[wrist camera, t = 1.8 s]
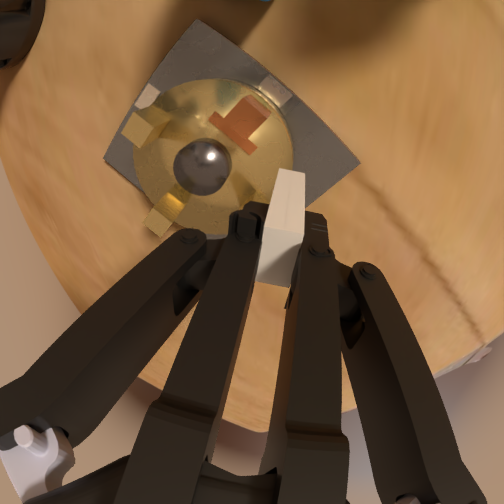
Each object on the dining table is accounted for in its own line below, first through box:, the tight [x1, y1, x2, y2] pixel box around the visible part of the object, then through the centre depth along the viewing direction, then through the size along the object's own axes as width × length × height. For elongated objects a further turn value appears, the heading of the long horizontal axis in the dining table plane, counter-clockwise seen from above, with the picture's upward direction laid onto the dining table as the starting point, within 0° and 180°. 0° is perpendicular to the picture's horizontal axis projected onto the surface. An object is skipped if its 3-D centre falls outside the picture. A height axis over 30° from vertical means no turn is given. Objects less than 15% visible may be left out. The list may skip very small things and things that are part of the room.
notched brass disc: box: [121, 78, 294, 238], centre depth 25 cm, size 16×16×6 cm
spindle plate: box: [103, 19, 360, 239], centre depth 28 cm, size 22×20×1 cm
